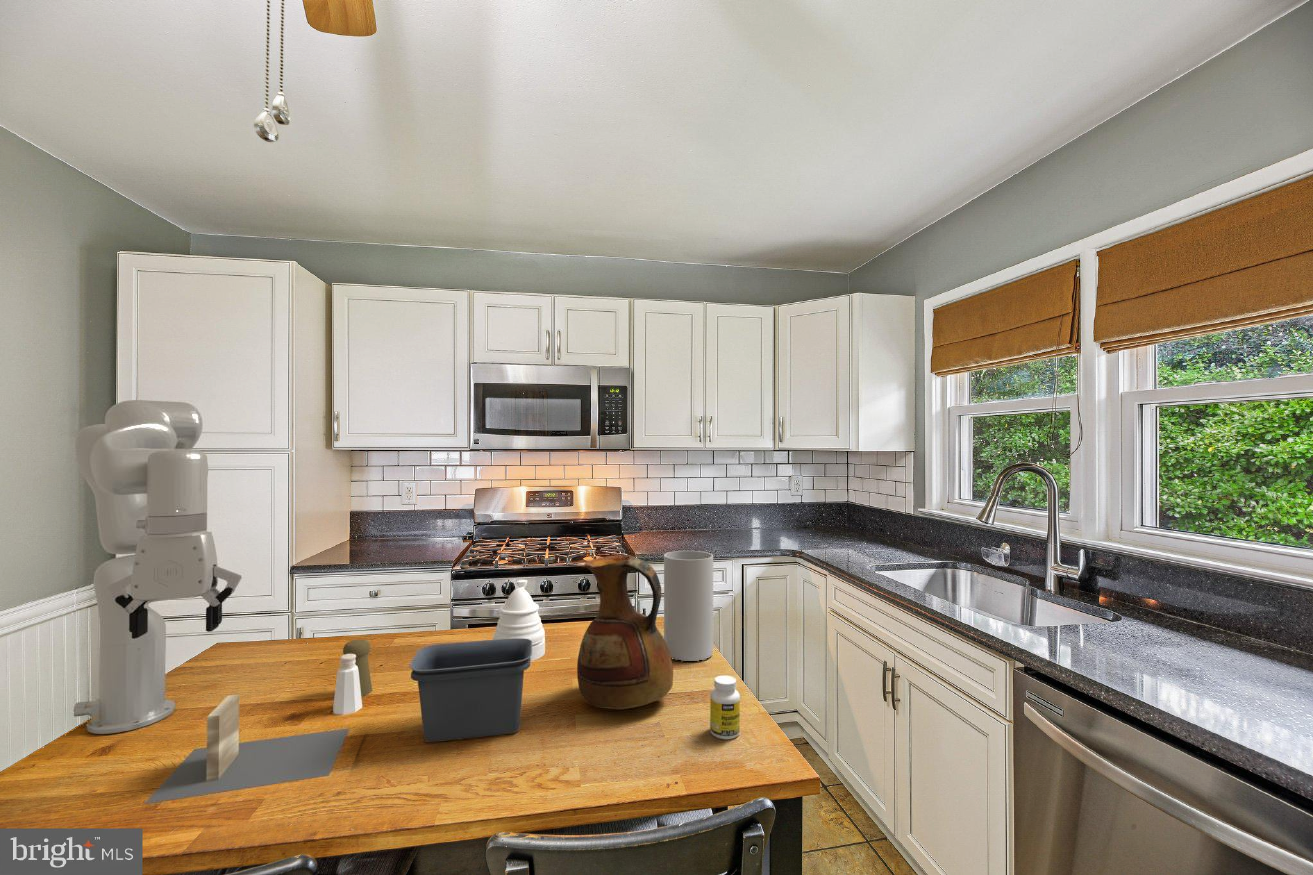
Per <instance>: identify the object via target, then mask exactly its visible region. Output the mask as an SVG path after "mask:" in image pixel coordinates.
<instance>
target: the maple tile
mask: <svg viewBox="0 0 1313 875" xmlns="http://www.w3.org/2000/svg"><path fill="white" fill-rule="evenodd" d="M206 719H207V720H206V747H207V778H206V781H212V780H218V779H219V778H220V777H221V776H222V774H223V773H224V772H225V770H226V769H227V768H228V767H229V765H230V764H231V763H232V761H233V760H234V759H235V757H236V756H237V755H238V754H239V743H240V742H239V741H240V739H239V738H240V736H239V734H240V730H239V729H240V693H238V694H230V695H227V696H226V697H225V698H224V699H223V700H222V701H221V702H220V703H219V704H218V705H217V706H216V707H215V708H214V710H212V711H211V712H210V713H209V714H208V715H207V716H206Z"/></svg>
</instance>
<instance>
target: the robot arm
mask: <svg viewBox="0 0 1313 875" xmlns="http://www.w3.org/2000/svg"><path fill="white" fill-rule="evenodd" d="M202 432H203V419H202V415H201V412H200V411H199V410H198V408H196V407H195V406H194V405H193V404H191V403H188V402H185V401H183V402H182V401H169V400H167V401H164V400H163V401H161V400H148V399H146V400H145V399H144V400H143V399H132V400H131V399H130V400H124V401H120V402H117V403H115V404H114V405H112V406H111V407H110V408H109V409H108V410H107V411H106V414H105V416H104V423H98V424H92V425H88V426H85V427H83V428H81V430H79V432H78V433H77V434H76V437H75V441H74V450H75V451H74V452H75V457H76V461H77V465H78V468H79V470H80V472H81V474H82V476H83V478H84V479H85V481H86V482H87V484H88V486H89V487H90V489H91V491H92V493H93V495H94V499H95V510H96V517H97V525H98V526H97V528H98V535H99V540H100V541H99V542H100V544H101V546H102V548H103V549H104V551H106V552H107V553H108V554H112V555H123V556H119V557H118V556H117V557H115V558H112V559H109V560H106V561H105V562H103V563H101V564H100V565H99V566H97V569H96V570H95V572H94V575H93V588H94V594H95V598H96V605H97V611H98V620H99V621H98V622H99V648H98V649H99V650H98V651H99V656H98V657H99V658H98V659H99V661H98V663H99V664H98V668H99V669H98V698H97V699H96V700H92V701H90V700H87V701H78V702H76V703H75V704H74V707H73V717H83V716H89V717H90V719H89V720H88V721H90V720H92V719H94V718H95V717H97V718H96V719H94V720H92V721H91V722H89V723H88V722H87V723H88V724H87V723H86V731H87V732H89V733H91V734H95V735H108V734H117V733H124V732H127V731H132V730H136V729H140V728H144V727H146V726H149V725H152V724H155V723H157V722H160V721H162V720H164V719H165V718H167V717H169V716H170V715H171V714H172V713H173V712H174V711H175V710H176V702H175V701H174V700H171V699H169V698H168V699H167V698H166V661H167V660H166V649H167V648H166V646H167V645H166V644H167V639H166V638H167V631H166V630H167V625H166V621H165V619H164V618H163V616H162V615H161V614H160V613H158V612H157V611H156V610H154V609H153V608H151V607H150V606H149V604H151V603H155V602H159V601H164V600H165V601H166V600H176V599H179V600H181V599H190V598H191V599H192V598H198V597H202V599H204V601H206V602H207V603H208V607H206V608H205V631H206V632H207V633H209V632H213V631H214V630H216V629H217V628H218V627H219V625H220V624H222V621H223V603H224V602H225V601H226V600H227V599H228V598H229V597H230V596H231V595H232V594H233V593H235V591H236V588H237V587H238V585H239V584H240V581H241V580H242V578H243V577H242V575H240V574H239V573H237V572H236V573H235V572H233V571H230V570H228V569H226V568H223V567H220V566H219V565H218V556H217V549H216V545H215V540H214V535H213V533H212V531H208V474H209V464H208V456H207V455H206V453H205V452H204V451H202V450H200V449H193V448H194V447H195V446H196V444H197V443H198V441H199V440H200V437H201V435H202ZM220 579H221V580H223V581H225V582H226V585H225V588H224V589H223V590H222V591H220V590H219V589H217V587H218V583H219V580H220ZM101 714H102V715H101ZM99 715H101V716H99ZM98 716H99V717H98Z"/></svg>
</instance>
